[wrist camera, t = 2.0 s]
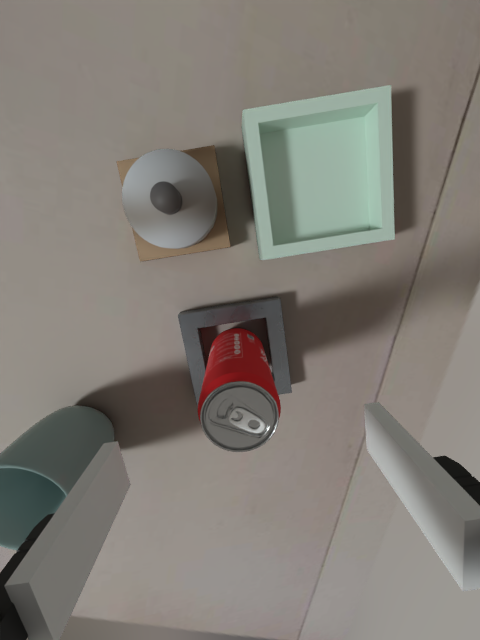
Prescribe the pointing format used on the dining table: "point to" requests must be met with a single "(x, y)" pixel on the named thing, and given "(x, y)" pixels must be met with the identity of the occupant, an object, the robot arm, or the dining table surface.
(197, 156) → the service bell
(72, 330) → the dining table surface
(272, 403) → the beverage can
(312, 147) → the tray
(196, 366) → the frame
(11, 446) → the cup
